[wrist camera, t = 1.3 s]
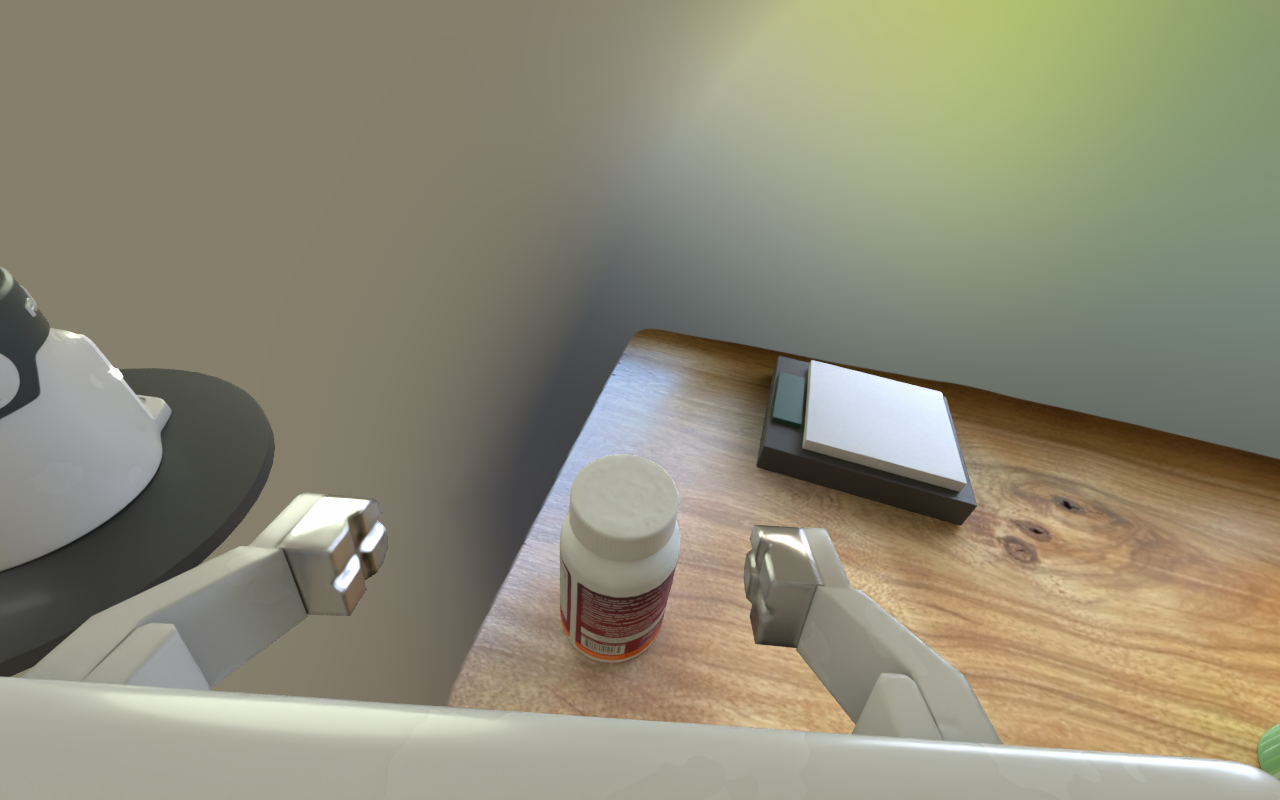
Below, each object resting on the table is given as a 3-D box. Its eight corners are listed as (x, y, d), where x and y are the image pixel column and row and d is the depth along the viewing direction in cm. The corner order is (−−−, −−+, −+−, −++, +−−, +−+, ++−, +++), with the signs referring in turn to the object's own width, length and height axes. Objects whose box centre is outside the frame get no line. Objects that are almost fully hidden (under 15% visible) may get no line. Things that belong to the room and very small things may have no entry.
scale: (756, 467, 42) (766, 437, 40) (772, 374, 52) (781, 346, 50) (961, 525, 39) (984, 497, 37) (934, 415, 50) (951, 388, 48)
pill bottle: (682, 622, 31) (719, 503, 24) (602, 691, 27) (617, 576, 20) (618, 552, 34) (633, 429, 27) (539, 605, 31) (533, 481, 24)
